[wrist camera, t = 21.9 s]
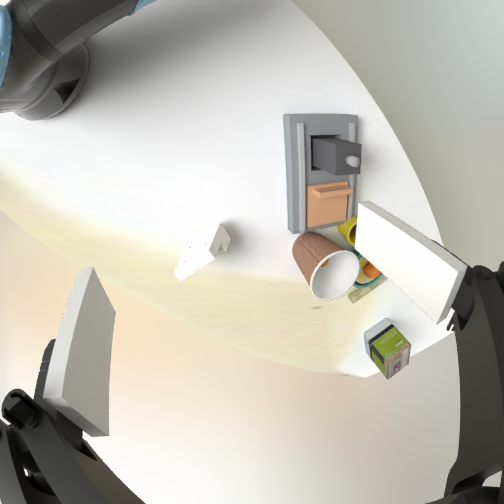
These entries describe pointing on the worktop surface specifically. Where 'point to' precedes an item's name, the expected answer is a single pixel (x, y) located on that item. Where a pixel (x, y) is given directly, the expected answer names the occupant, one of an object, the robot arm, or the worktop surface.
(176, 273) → the white wedge bracket
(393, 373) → the tea box
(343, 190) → the shutter
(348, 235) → the toy juicer set
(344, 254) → the coffee cup
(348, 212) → the socket board
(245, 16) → the worktop surface
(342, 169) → the plug
